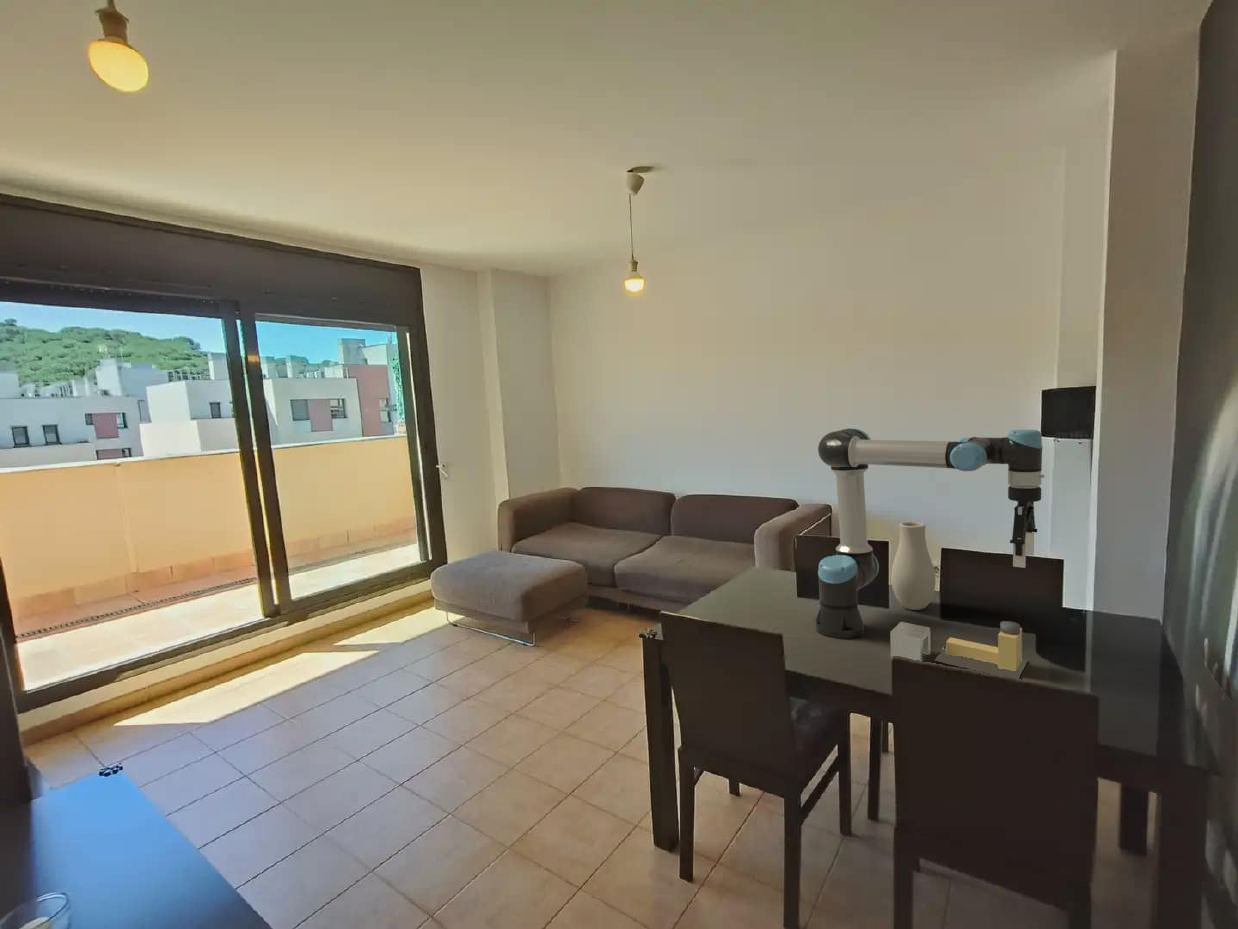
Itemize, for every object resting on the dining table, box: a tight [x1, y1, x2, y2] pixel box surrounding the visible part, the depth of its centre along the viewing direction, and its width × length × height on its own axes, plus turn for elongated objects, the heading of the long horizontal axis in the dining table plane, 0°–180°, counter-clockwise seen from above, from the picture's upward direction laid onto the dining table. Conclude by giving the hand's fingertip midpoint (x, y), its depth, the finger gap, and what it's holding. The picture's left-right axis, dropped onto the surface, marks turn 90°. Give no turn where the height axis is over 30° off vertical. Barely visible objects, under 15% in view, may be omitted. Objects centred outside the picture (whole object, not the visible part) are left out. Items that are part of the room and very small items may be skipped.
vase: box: [890, 521, 936, 611], centre depth 200 cm, size 14×14×30 cm
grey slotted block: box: [889, 621, 931, 662], centre depth 166 cm, size 8×9×8 cm
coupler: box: [945, 620, 1023, 671], centre depth 159 cm, size 17×8×12 cm, turn 46°
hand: (1023, 560), depth 161 cm, fingers open, 13 cm apart
